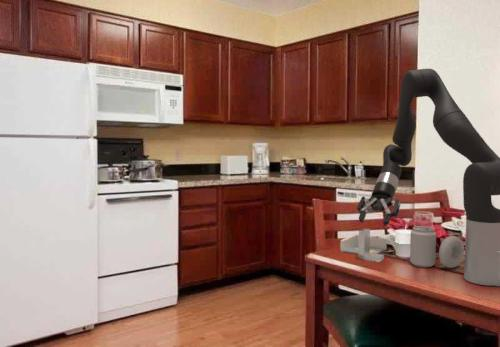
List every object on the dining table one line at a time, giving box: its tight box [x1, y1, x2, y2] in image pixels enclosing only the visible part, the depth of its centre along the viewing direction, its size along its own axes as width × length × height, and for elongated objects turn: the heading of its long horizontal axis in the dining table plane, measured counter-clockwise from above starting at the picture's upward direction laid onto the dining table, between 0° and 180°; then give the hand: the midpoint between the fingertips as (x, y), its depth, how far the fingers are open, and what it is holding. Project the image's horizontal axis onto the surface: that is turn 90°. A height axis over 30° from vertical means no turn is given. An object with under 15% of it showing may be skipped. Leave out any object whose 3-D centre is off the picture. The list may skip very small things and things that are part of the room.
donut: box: [438, 235, 465, 269], centre depth 130 cm, size 10×4×10 cm, turn 121°
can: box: [409, 225, 437, 268], centre depth 134 cm, size 8×8×12 cm
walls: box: [339, 234, 388, 253], centre depth 152 cm, size 12×12×4 cm
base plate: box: [343, 245, 386, 255], centre depth 151 cm, size 11×11×1 cm
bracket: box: [358, 228, 385, 263], centre depth 141 cm, size 7×4×10 cm, turn 52°
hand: (372, 223), depth 147 cm, fingers open, 8 cm apart
